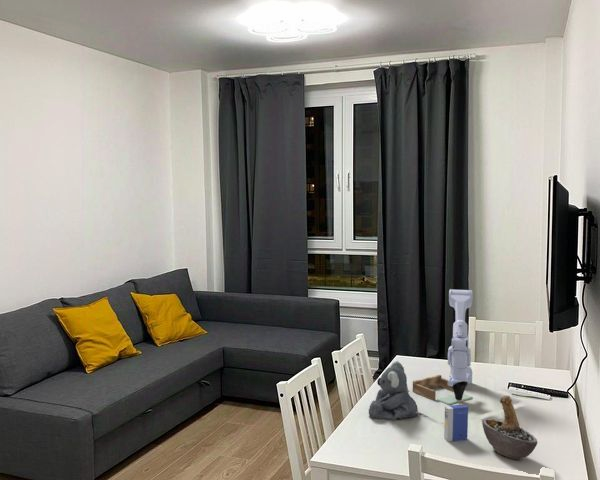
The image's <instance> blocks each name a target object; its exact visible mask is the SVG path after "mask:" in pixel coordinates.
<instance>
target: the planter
mask: <svg viewBox="0 0 600 480" xmlns="http://www.w3.org/2000/svg"><path fill="white" fill-rule="evenodd" d="M499 402H500V404H501V405H502V409H503V414H504V415H503V416H504V419H503V421H501V420H495V419H491V418H482V420H481V422H482V428H483V432H484V435H485V437H486V439H487V441H488V443H489V444H490V445H491V446H492V449H493V450H494V451H495V452H496V453H498V454H500V456H503V457H506V458H508V459H512V460H519V461H520V460H523V459H525V458H527V457H529V456H530V455H532V453H533V452H534V450H535V448H536V447H537V445H538V442H539V441H538V439H537V438H536V437H535V436H534V435H533V434H532V433H530V432H528V431H527V430H525V429H523V428H522V427H520V423H519V420H518V418H517V417H518V416H517V412H516V410H515V407H514V405H513V402H512V399H511V397H510V395H507V394H506V395H504V396H501V398H500V399H499Z"/></svg>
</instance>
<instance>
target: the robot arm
mask: <svg viewBox="0 0 600 480" xmlns="http://www.w3.org/2000/svg"><path fill="white" fill-rule="evenodd" d="M473 296H474V295H473V290H472V289H470V290H469V289H452V288H450V289H449V291H448V303H449V306H450V307H452V308H453V309H454V311H455V312H454V313H455V316H454V319H455V321H454V322H453V325H452V338H451V345H450V346H449V347H448V351H447V365H448V366H449V367H450V375H449V379H447V380H448V386H452V388H453V390H454V392H453V395H454V394H455V398H456V399H457V400H462V397H463V394H465V390H466V388H467V386H468V385H469V384H473V369H472V367H471V359H472V357H471V356H472V354H471V349H470V347H469V335H468V323H467V322H466V311H467V309H469V308H472V306H473V305H472V304H473V300H474V299H473V298H474V297H473Z"/></svg>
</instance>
